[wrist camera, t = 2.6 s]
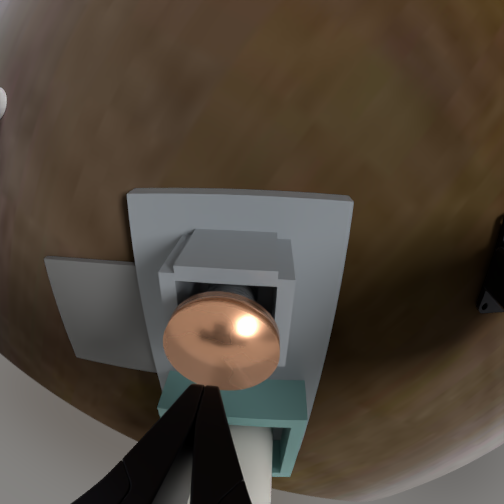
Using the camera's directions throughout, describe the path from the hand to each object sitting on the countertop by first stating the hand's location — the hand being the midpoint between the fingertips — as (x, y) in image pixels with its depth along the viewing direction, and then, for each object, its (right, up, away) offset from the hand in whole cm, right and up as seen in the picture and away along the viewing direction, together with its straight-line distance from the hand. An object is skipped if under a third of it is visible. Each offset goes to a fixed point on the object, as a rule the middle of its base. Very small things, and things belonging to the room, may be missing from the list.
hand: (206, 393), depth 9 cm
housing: (0, -2, +10) cm, 10 cm away
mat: (-8, 0, +9) cm, 12 cm away
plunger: (+1, +3, +6) cm, 7 cm away
